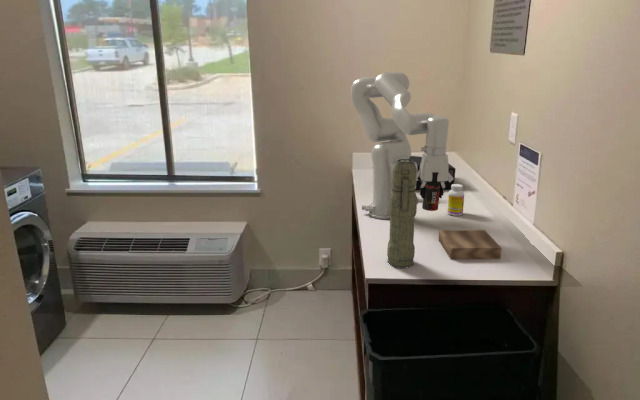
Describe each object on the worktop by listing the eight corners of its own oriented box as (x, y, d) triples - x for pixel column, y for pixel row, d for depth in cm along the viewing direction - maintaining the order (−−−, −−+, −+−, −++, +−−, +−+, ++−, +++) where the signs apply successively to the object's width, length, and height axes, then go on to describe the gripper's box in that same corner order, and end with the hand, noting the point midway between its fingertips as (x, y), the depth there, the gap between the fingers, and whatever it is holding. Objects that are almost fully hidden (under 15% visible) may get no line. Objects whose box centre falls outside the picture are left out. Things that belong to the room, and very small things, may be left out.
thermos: (390, 270, 158) (394, 165, 148) (384, 256, 169) (387, 157, 159) (417, 269, 159) (423, 164, 148) (409, 255, 170) (414, 156, 160)
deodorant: (429, 211, 183) (432, 173, 178) (419, 206, 188) (422, 169, 183) (441, 209, 186) (445, 171, 181) (431, 204, 191) (434, 167, 186)
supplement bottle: (463, 216, 208) (465, 187, 204) (447, 216, 209) (449, 187, 206) (462, 212, 214) (464, 183, 211) (446, 211, 216) (448, 183, 212)
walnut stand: (450, 259, 166) (451, 248, 165) (438, 240, 183) (439, 230, 182) (500, 258, 167) (501, 247, 165) (483, 240, 183) (484, 230, 182)
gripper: (413, 152, 176) (410, 200, 182) (461, 153, 176) (456, 200, 182) (410, 148, 183) (406, 193, 189) (455, 148, 183) (451, 194, 189)
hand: (431, 196), depth 185 cm, fingers closed on deodorant, 5 cm apart
